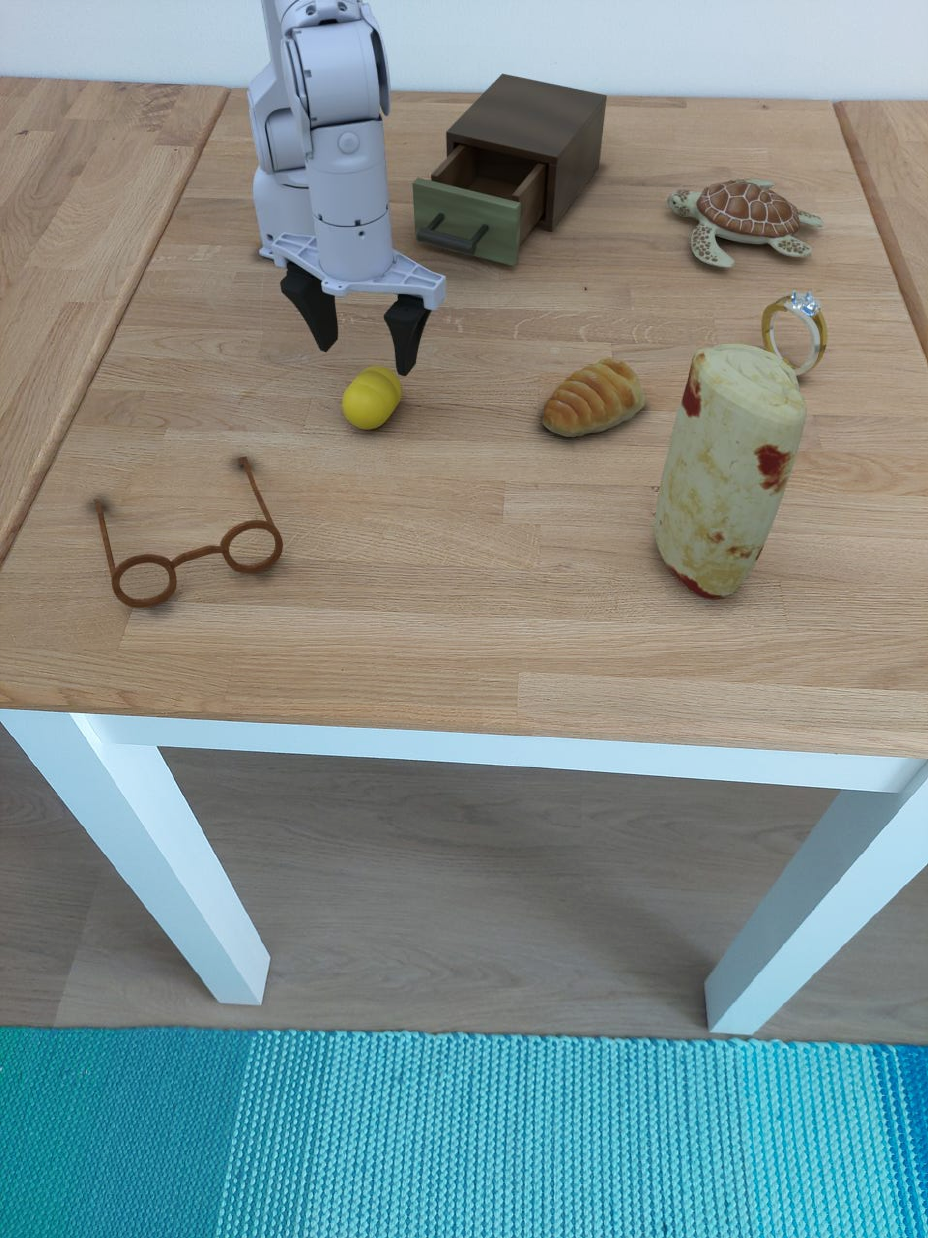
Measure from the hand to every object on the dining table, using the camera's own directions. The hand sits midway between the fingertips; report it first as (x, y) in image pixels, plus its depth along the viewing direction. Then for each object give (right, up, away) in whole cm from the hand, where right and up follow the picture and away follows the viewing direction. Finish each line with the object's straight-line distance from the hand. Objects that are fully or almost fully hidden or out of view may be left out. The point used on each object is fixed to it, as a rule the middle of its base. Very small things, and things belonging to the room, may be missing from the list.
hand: (367, 356), depth 80 cm
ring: (+38, +1, +9) cm, 39 cm away
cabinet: (+15, +28, +29) cm, 43 cm away
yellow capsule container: (0, -4, +5) cm, 7 cm away
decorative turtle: (+38, +20, +23) cm, 49 cm away
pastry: (+20, -4, +6) cm, 21 cm away
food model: (+27, -19, -5) cm, 33 cm away
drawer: (+10, +20, +21) cm, 31 cm away
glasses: (-14, -16, -3) cm, 21 cm away
